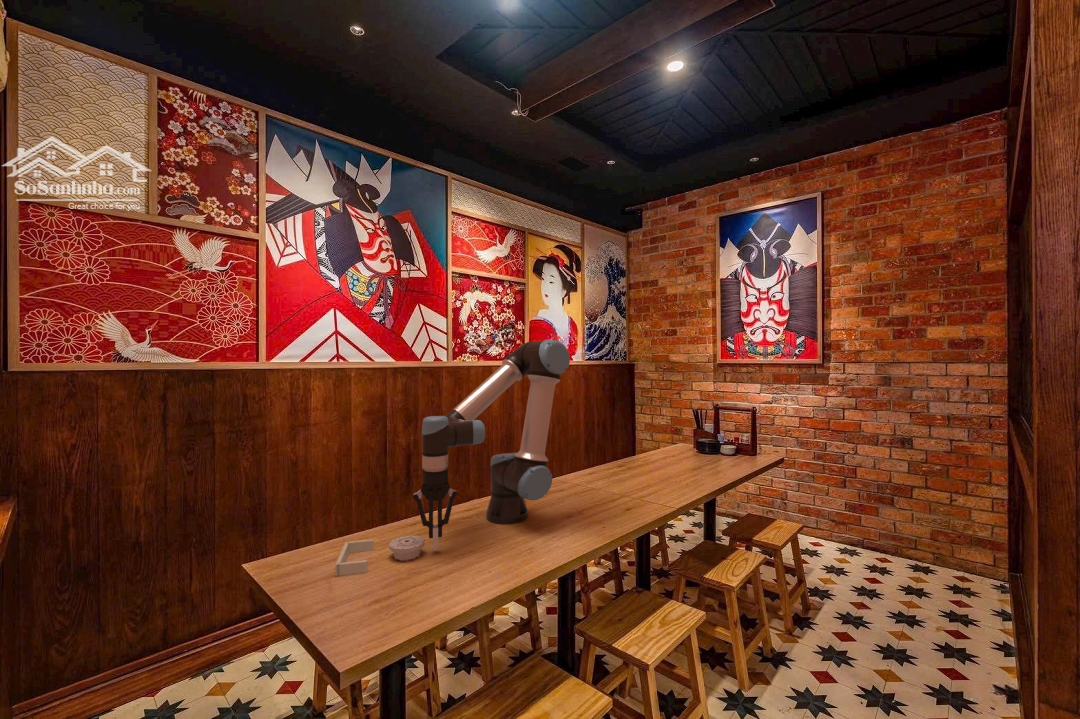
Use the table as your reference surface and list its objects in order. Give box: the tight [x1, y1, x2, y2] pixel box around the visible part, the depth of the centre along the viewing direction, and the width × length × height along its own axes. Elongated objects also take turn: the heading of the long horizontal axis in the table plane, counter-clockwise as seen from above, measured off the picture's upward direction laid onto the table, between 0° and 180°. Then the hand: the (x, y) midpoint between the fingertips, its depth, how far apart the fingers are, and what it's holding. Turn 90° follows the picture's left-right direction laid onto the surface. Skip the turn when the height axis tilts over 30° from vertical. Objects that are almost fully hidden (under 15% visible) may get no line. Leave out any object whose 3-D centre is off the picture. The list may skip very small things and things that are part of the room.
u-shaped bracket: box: [334, 538, 375, 577], centre depth 131 cm, size 8×16×3 cm, turn 14°
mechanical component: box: [388, 535, 425, 562], centre depth 134 cm, size 10×4×10 cm
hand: (435, 548), depth 136 cm, fingers closed
